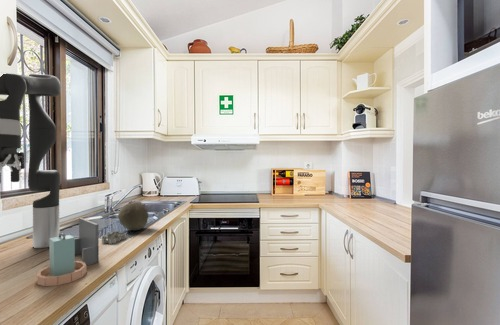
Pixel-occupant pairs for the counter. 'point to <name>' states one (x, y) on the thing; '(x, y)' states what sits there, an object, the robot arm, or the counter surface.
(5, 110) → the robot arm
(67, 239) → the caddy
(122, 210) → the cantaloupe
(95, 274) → the counter surface
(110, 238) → the miniature stone ruin
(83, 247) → the screen
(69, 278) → the dish
